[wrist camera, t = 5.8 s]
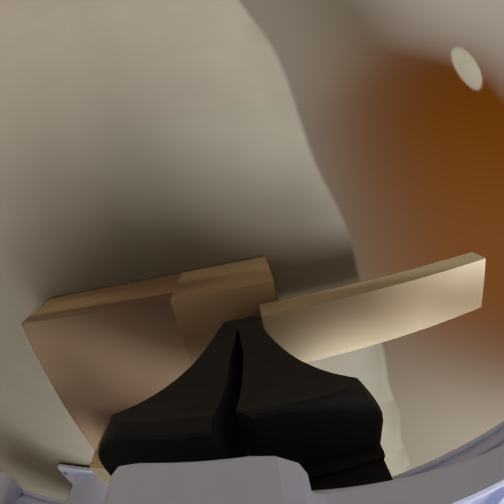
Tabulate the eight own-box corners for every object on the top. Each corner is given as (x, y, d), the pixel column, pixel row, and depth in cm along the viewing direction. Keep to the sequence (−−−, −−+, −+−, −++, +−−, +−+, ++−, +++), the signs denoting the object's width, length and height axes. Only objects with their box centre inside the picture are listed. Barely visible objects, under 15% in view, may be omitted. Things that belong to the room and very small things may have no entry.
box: (296, 429, 18) (305, 465, 15) (127, 446, 18) (117, 478, 15) (265, 255, 15) (273, 280, 12) (51, 297, 15) (21, 323, 12)
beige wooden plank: (469, 298, 13) (480, 306, 12) (269, 355, 13) (272, 369, 12) (472, 252, 12) (485, 258, 11) (258, 304, 12) (261, 316, 11)
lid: (237, 466, 16) (239, 523, 12) (120, 470, 16) (106, 519, 12) (173, 292, 13) (148, 349, 8) (29, 316, 13) (-19, 361, 8)
